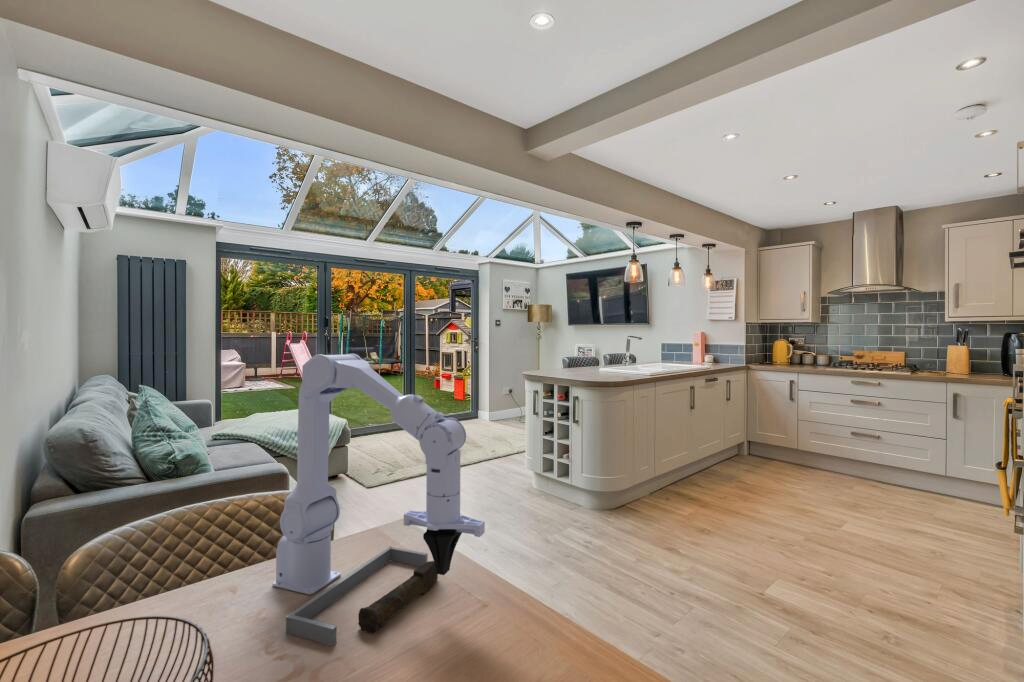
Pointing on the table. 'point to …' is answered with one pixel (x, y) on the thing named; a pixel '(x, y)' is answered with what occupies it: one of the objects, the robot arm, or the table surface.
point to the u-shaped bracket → (326, 633)
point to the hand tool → (398, 598)
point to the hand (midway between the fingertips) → (443, 571)
